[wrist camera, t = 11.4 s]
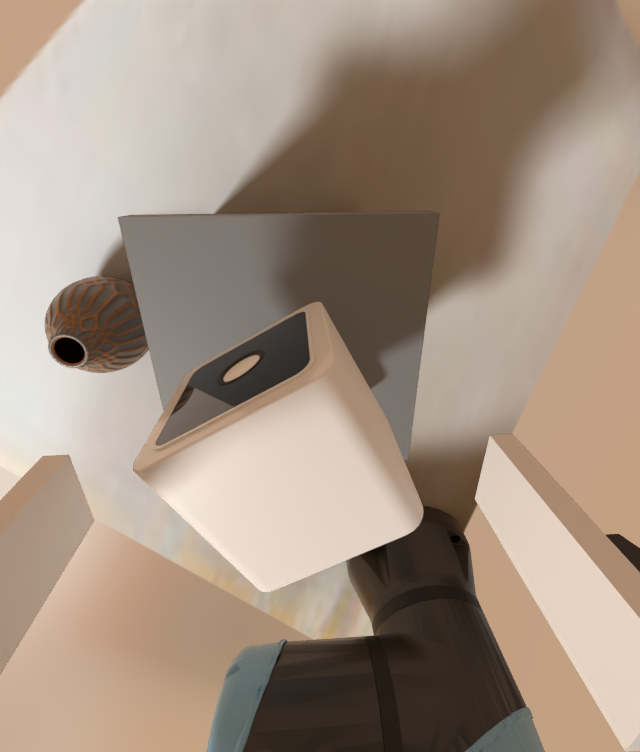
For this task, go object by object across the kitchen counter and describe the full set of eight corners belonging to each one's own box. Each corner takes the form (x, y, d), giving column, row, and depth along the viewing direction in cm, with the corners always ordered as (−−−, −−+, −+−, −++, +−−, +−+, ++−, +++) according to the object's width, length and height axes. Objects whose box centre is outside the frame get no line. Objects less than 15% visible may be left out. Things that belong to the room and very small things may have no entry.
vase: (169, 351, 33) (131, 402, 25) (87, 344, 32) (22, 394, 24) (164, 273, 30) (119, 303, 22) (73, 263, 29) (-7, 291, 21)
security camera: (314, 275, 17) (336, 366, 8) (376, 387, 20) (440, 542, 11) (204, 339, 18) (120, 478, 10) (278, 436, 21) (267, 612, 12)
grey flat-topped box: (368, 366, 35) (407, 459, 23) (218, 371, 34) (177, 471, 22) (377, 202, 28) (439, 213, 16) (193, 204, 28) (117, 217, 16)
